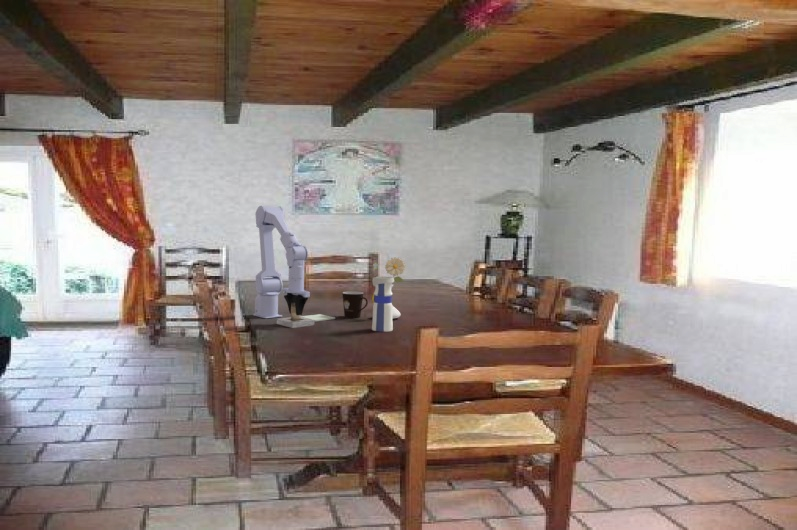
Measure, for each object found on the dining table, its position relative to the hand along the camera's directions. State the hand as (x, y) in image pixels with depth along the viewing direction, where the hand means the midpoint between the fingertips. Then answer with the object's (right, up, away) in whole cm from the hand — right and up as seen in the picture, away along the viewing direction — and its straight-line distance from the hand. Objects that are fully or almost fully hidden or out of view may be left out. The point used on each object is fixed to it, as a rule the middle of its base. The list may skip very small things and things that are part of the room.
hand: (295, 314), depth 240 cm
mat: (+6, -3, +15) cm, 17 cm away
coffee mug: (+20, -3, +19) cm, 28 cm away
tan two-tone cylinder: (0, -3, 0) cm, 3 cm away
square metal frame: (0, -4, 0) cm, 4 cm away
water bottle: (+32, -5, -5) cm, 33 cm away
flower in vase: (+35, -4, +19) cm, 40 cm away
